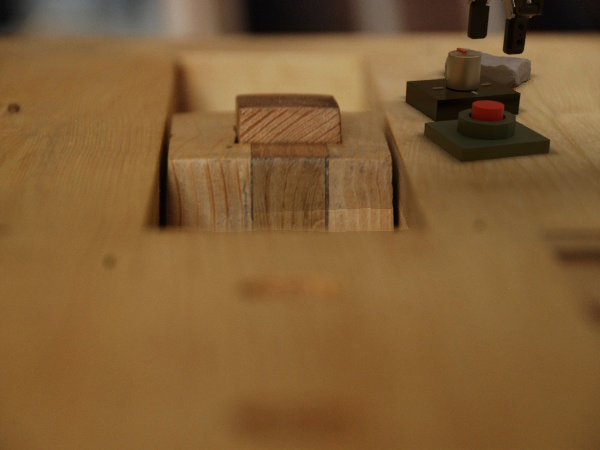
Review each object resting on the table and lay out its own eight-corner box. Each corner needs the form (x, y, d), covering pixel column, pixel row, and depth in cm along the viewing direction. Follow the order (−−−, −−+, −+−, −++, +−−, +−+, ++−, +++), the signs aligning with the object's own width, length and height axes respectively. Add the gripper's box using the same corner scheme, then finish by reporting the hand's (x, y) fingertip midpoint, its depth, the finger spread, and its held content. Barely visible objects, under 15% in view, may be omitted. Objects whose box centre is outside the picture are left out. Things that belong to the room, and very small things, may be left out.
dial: (484, 89, 109) (487, 53, 107) (453, 91, 108) (456, 55, 106) (470, 81, 113) (473, 46, 111) (440, 83, 112) (443, 48, 110)
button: (493, 113, 97) (494, 99, 96) (508, 122, 93) (510, 107, 93) (465, 116, 96) (466, 101, 95) (480, 124, 93) (481, 109, 92)
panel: (482, 95, 117) (484, 74, 116) (518, 115, 109) (521, 91, 107) (405, 102, 114) (406, 80, 113) (435, 122, 105) (437, 98, 104)
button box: (504, 132, 102) (507, 100, 100) (548, 157, 93) (552, 124, 92) (423, 139, 99) (425, 107, 97) (461, 167, 90) (464, 132, 89)
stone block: (464, 77, 134) (438, 77, 126) (470, 47, 132) (444, 45, 124) (533, 91, 128) (511, 92, 119) (540, 60, 126) (519, 59, 118)
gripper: (447, -114, 90) (436, 35, 97) (512, -109, 77) (495, 62, 84) (508, -114, 92) (493, 32, 98) (581, -110, 79) (559, 57, 86)
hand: (494, 45), depth 91 cm, fingers open, 8 cm apart
